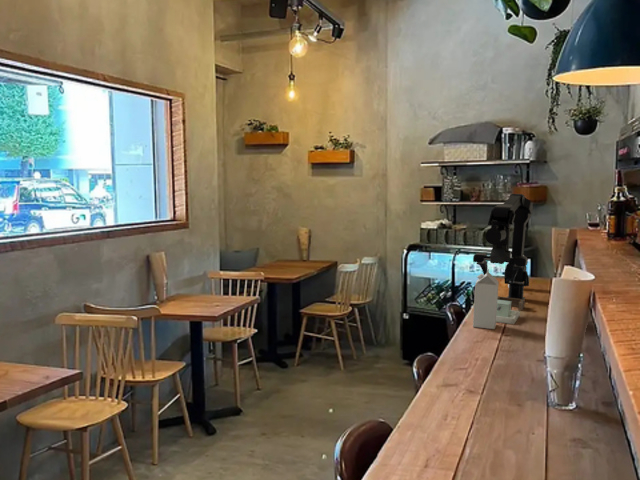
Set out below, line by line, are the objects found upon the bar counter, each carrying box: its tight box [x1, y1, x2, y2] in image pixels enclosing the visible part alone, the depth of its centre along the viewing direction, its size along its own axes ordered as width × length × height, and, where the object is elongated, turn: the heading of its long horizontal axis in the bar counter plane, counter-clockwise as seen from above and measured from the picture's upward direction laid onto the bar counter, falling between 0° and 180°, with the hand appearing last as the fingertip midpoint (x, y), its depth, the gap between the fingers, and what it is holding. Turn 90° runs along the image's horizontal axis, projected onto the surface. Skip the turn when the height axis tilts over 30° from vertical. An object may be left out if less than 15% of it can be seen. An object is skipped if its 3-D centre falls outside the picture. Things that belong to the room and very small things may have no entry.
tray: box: [496, 309, 521, 325], centre depth 217 cm, size 12×12×2 cm
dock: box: [497, 295, 526, 312], centre depth 233 cm, size 7×10×3 cm, turn 63°
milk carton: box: [472, 268, 499, 330], centre depth 205 cm, size 7×7×19 cm
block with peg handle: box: [496, 300, 512, 317], centre depth 217 cm, size 8×6×5 cm
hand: (499, 282), depth 225 cm, fingers open, 9 cm apart
